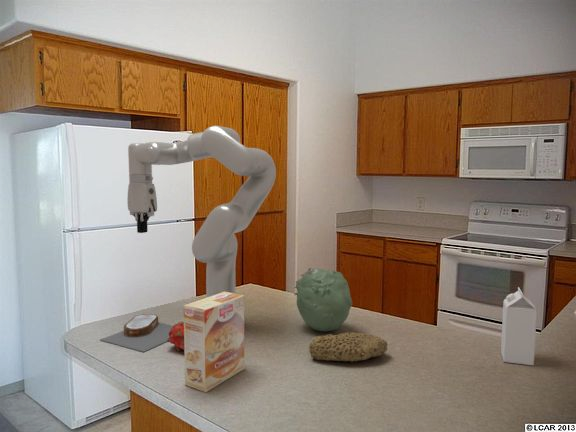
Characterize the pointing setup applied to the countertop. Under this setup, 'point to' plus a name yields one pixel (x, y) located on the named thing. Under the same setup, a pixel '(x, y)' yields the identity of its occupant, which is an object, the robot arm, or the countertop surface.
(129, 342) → the mat
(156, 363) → the countertop surface
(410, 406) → the countertop surface
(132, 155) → the robot arm
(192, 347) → the coffeecake box
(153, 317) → the tin
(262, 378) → the countertop surface
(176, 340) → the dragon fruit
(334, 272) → the cabbage
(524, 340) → the milk carton
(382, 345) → the sponge
